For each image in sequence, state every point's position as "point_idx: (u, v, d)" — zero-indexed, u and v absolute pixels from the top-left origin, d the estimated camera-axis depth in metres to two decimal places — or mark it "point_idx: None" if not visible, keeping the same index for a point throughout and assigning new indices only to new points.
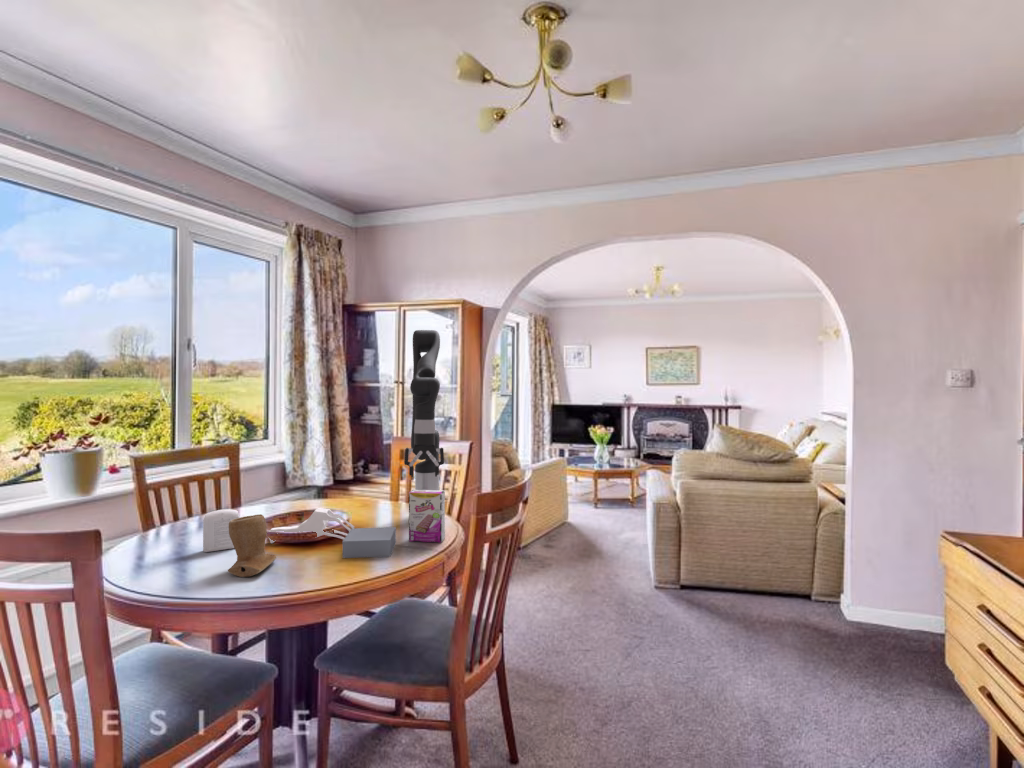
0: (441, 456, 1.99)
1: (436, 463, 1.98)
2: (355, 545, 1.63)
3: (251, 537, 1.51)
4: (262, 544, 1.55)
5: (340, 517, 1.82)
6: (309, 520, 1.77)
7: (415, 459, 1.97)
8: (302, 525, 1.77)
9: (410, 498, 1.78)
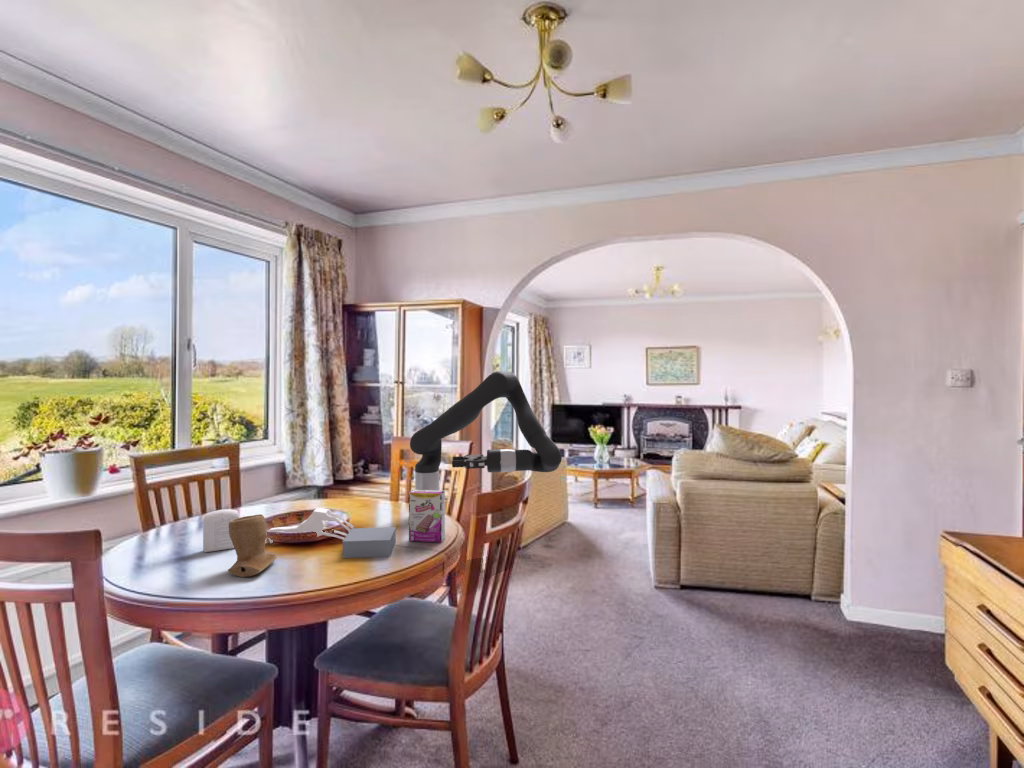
0: None
1: None
2: (355, 545, 1.63)
3: (251, 537, 1.51)
4: (262, 544, 1.55)
5: (339, 517, 1.82)
6: (308, 520, 1.77)
7: None
8: (301, 525, 1.77)
9: (410, 498, 1.78)
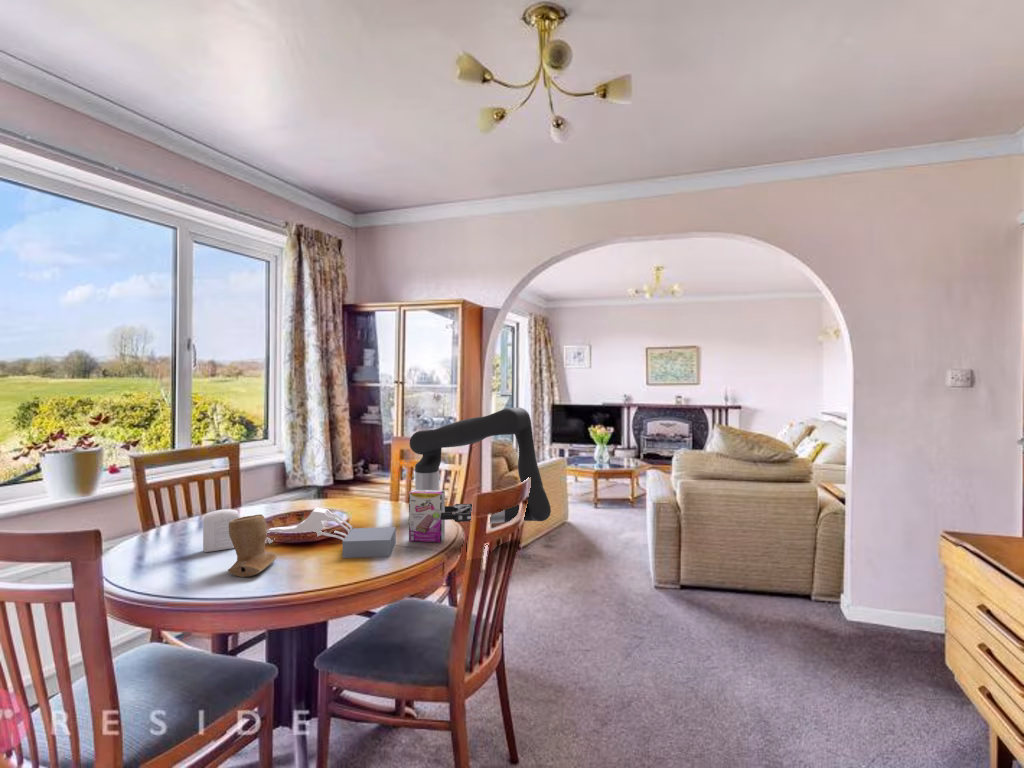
0: None
1: (456, 512, 1.85)
2: (355, 545, 1.63)
3: (251, 537, 1.51)
4: (262, 544, 1.55)
5: (338, 517, 1.82)
6: (307, 520, 1.77)
7: None
8: (300, 525, 1.77)
9: (410, 498, 1.78)
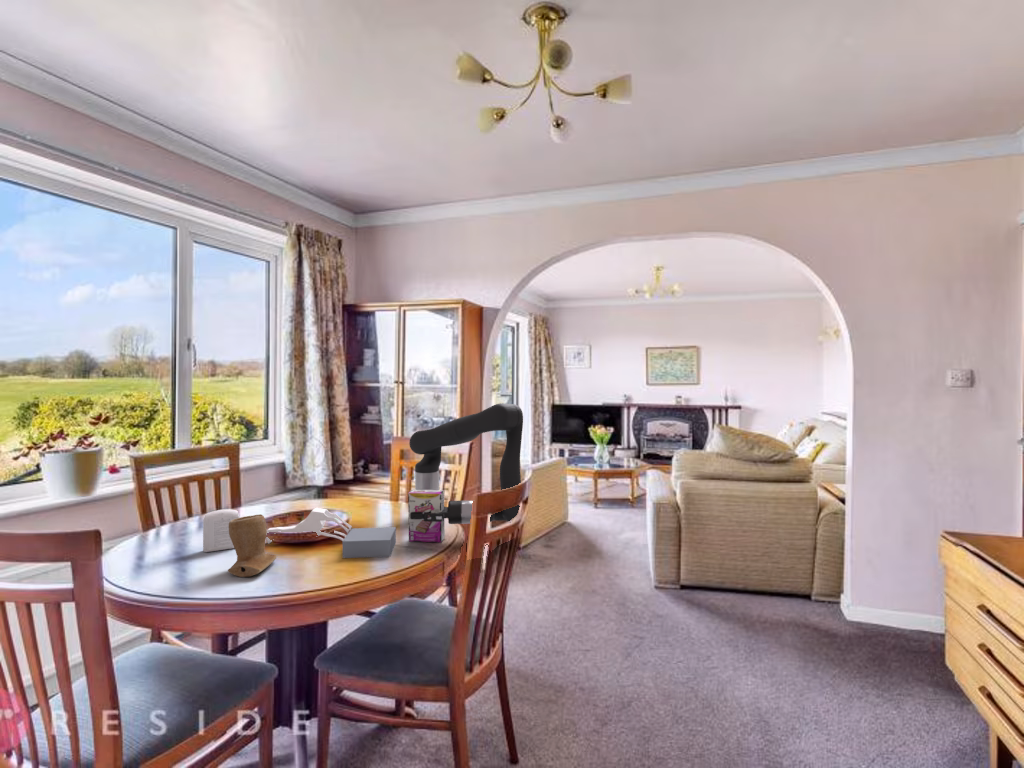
0: None
1: None
2: (355, 545, 1.63)
3: (251, 537, 1.51)
4: (262, 544, 1.55)
5: (337, 517, 1.82)
6: (306, 520, 1.77)
7: None
8: (299, 525, 1.77)
9: (409, 498, 1.77)
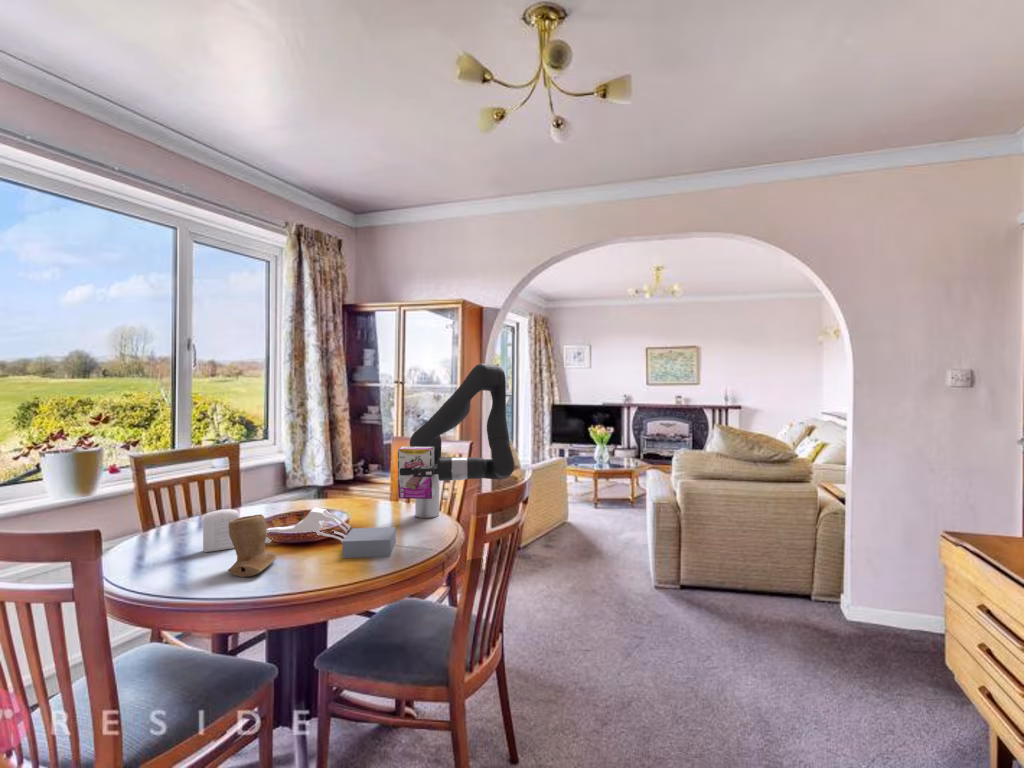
0: None
1: None
2: (355, 545, 1.63)
3: (251, 537, 1.51)
4: (262, 544, 1.55)
5: (336, 517, 1.82)
6: (305, 520, 1.77)
7: None
8: (298, 525, 1.77)
9: (399, 455, 1.75)
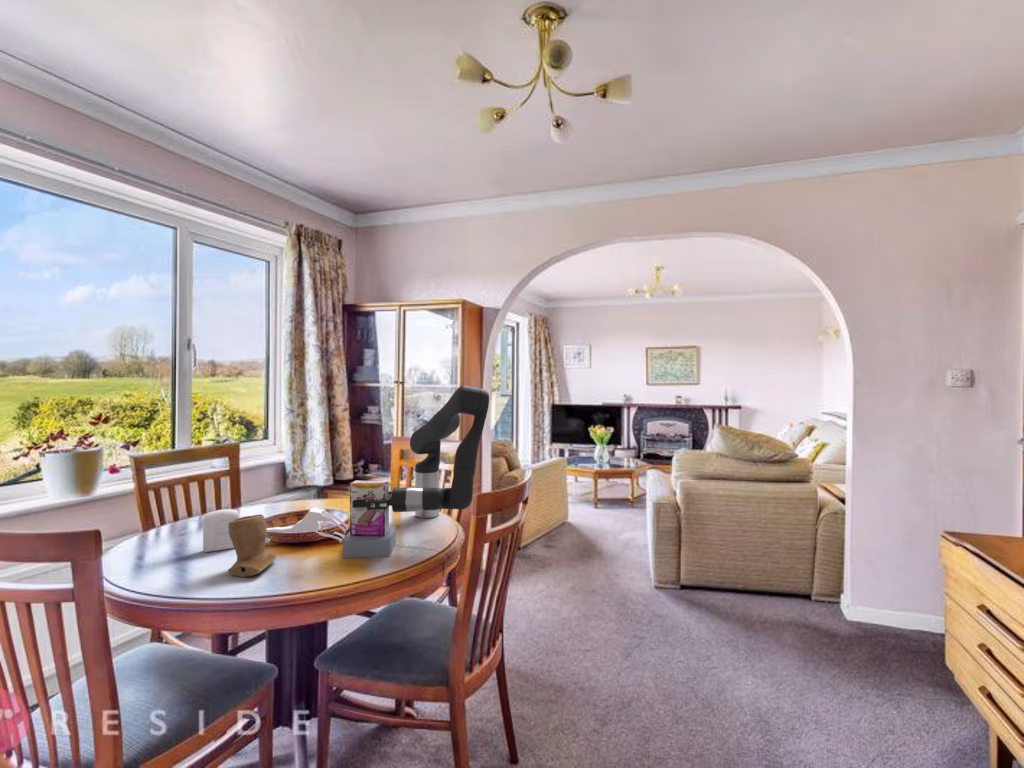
0: None
1: None
2: (355, 545, 1.63)
3: (251, 537, 1.51)
4: (262, 544, 1.55)
5: (335, 517, 1.82)
6: (303, 520, 1.77)
7: None
8: (297, 525, 1.77)
9: (351, 489, 1.68)
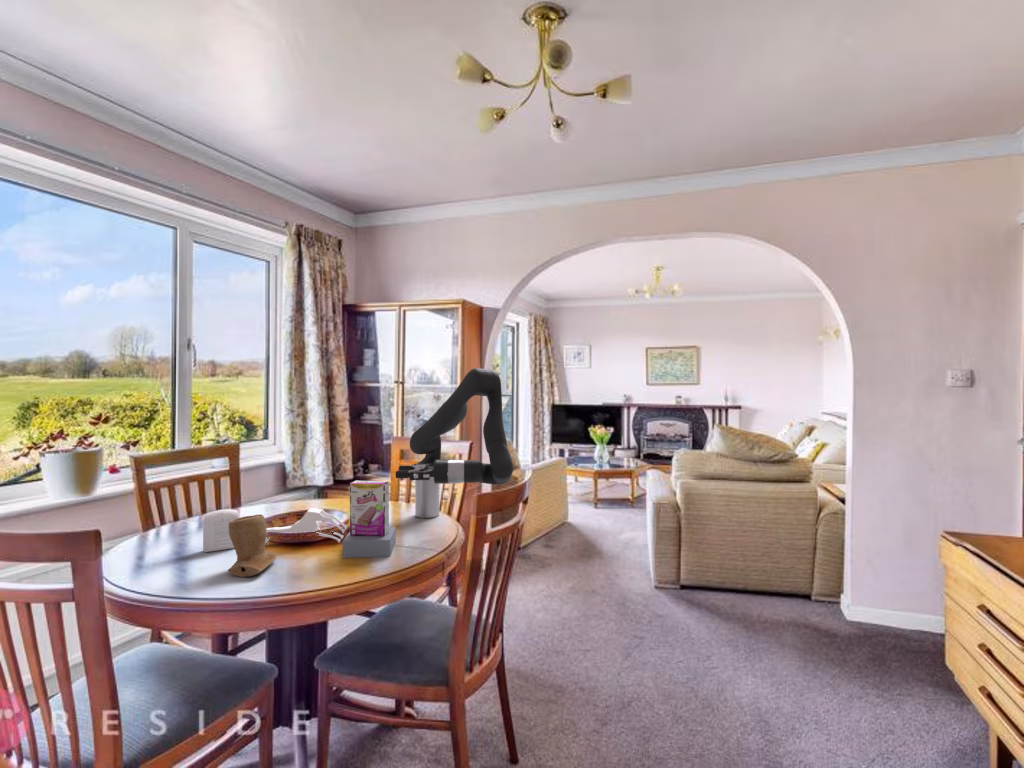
0: None
1: None
2: (355, 545, 1.63)
3: (251, 537, 1.51)
4: (262, 544, 1.55)
5: (333, 517, 1.82)
6: (301, 520, 1.77)
7: None
8: (295, 525, 1.77)
9: (351, 489, 1.68)
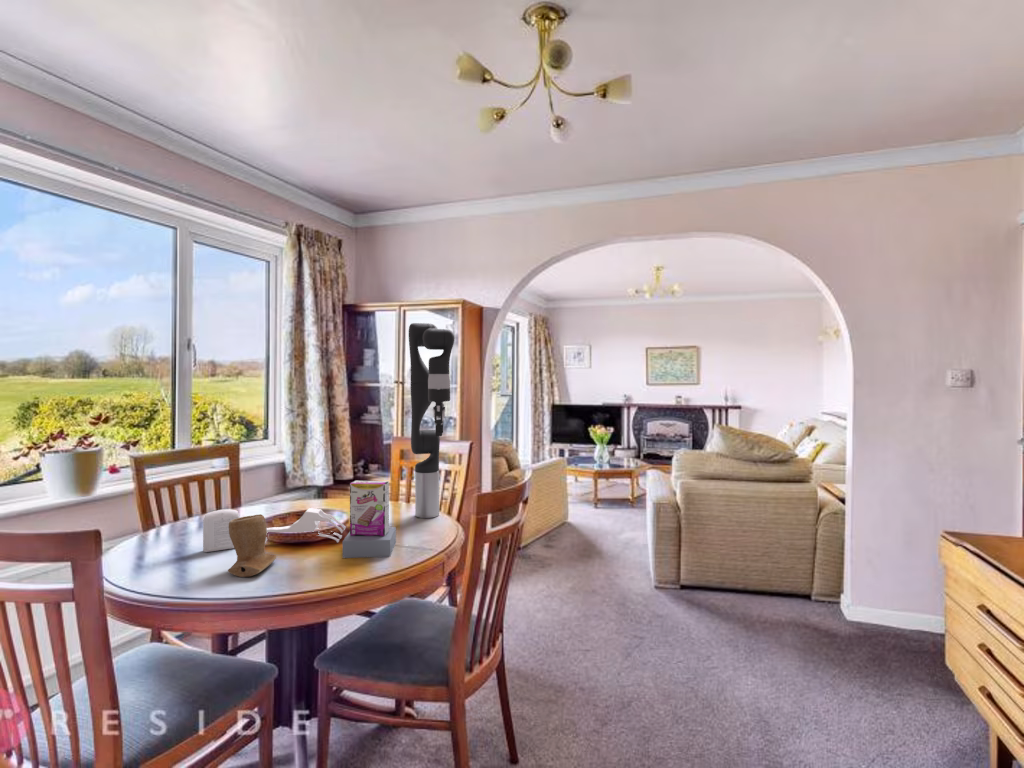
0: None
1: (443, 419, 1.91)
2: (355, 545, 1.63)
3: (251, 537, 1.51)
4: (262, 544, 1.55)
5: (332, 517, 1.82)
6: (300, 520, 1.77)
7: (444, 416, 1.84)
8: (293, 525, 1.77)
9: (351, 489, 1.68)
